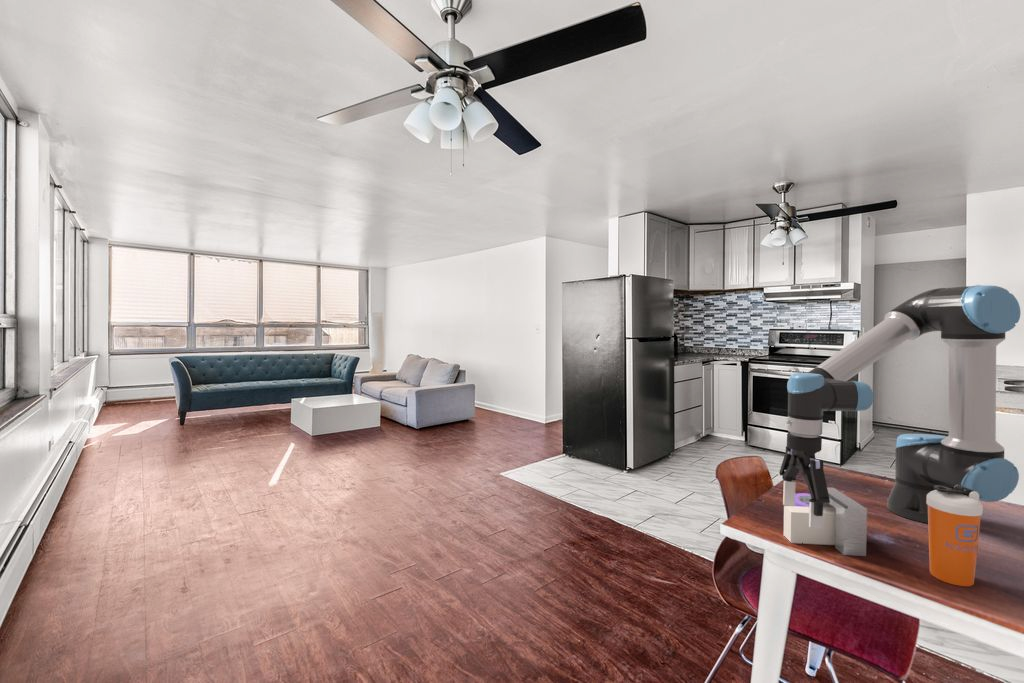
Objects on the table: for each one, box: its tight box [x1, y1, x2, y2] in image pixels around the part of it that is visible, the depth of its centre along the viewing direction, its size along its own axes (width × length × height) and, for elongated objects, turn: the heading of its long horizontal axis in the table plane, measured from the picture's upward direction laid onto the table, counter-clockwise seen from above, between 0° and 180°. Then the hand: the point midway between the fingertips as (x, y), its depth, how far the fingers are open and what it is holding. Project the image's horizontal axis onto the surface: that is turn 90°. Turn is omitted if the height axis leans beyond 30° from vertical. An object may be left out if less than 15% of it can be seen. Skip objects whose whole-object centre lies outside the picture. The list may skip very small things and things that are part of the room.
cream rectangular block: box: [783, 505, 836, 546], centre depth 118 cm, size 16×4×8 cm, turn 82°
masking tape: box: [795, 492, 812, 507], centre depth 135 cm, size 12×12×4 cm
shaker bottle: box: [926, 485, 984, 587], centre depth 101 cm, size 9×9×20 cm
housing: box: [823, 487, 868, 557], centre depth 118 cm, size 5×14×12 cm, turn 173°
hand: (801, 515), depth 119 cm, fingers open, 13 cm apart
